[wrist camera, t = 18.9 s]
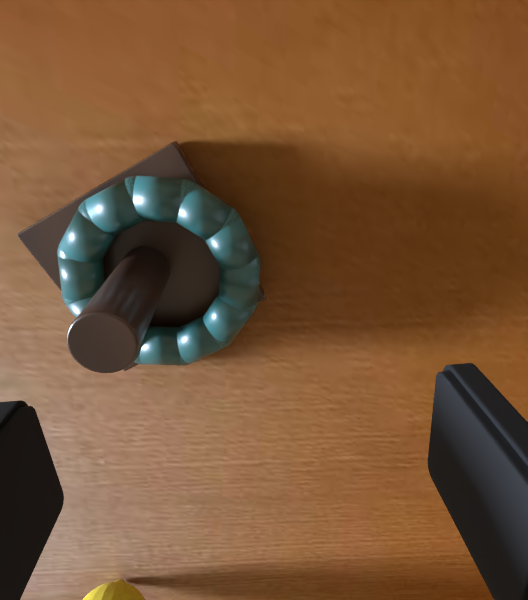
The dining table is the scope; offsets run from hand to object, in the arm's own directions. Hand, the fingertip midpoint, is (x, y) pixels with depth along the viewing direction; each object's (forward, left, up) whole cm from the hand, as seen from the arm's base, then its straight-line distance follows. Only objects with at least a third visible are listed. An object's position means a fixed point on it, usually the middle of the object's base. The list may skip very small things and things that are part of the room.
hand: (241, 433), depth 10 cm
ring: (+4, -1, -12) cm, 13 cm away
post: (+4, -2, -14) cm, 15 cm away
